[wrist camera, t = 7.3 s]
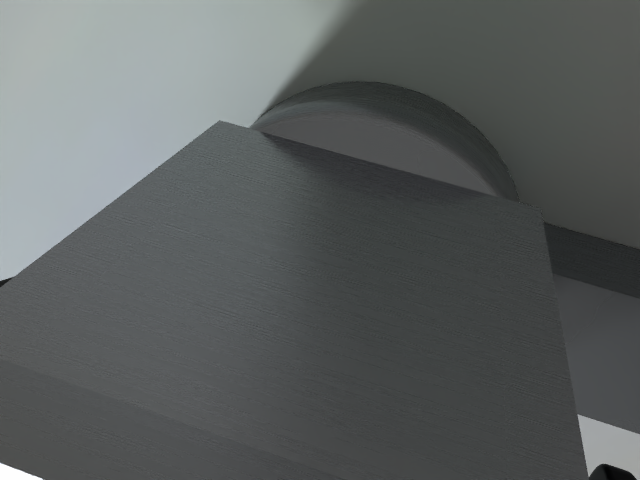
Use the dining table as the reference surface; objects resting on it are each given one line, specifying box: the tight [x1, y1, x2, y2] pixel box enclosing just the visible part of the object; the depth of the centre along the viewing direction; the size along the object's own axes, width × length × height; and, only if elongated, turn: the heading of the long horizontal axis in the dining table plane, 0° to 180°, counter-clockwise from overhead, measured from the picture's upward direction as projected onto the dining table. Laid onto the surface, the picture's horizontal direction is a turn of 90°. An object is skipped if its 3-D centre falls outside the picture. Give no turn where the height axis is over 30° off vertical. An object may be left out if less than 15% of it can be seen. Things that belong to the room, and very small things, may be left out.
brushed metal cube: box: [0, 120, 589, 480], centre depth 8 cm, size 6×6×7 cm
